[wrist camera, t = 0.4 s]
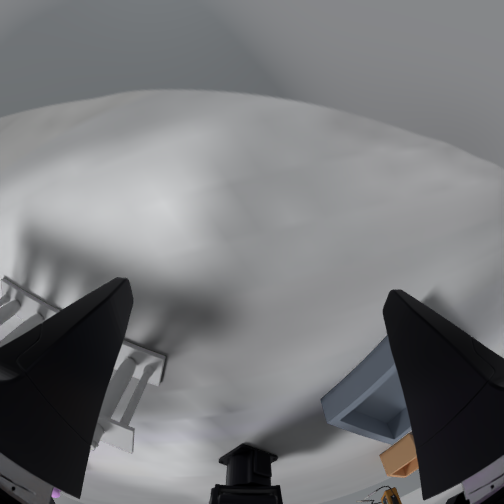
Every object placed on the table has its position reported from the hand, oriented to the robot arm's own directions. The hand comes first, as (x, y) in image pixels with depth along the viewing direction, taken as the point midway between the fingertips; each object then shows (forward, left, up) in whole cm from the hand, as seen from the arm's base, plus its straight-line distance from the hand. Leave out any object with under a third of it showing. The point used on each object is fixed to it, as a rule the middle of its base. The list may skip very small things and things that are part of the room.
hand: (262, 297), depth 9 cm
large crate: (-5, -26, -15) cm, 30 cm away
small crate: (-15, -44, -15) cm, 49 cm away
